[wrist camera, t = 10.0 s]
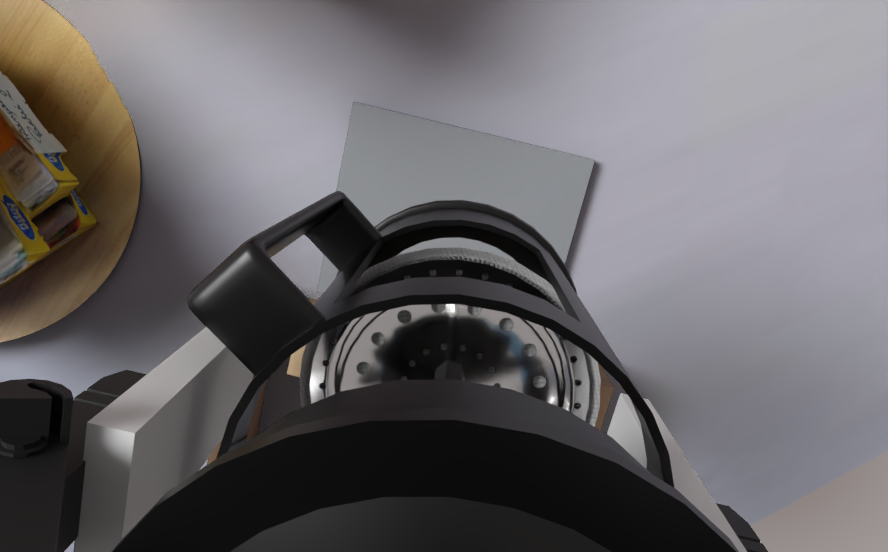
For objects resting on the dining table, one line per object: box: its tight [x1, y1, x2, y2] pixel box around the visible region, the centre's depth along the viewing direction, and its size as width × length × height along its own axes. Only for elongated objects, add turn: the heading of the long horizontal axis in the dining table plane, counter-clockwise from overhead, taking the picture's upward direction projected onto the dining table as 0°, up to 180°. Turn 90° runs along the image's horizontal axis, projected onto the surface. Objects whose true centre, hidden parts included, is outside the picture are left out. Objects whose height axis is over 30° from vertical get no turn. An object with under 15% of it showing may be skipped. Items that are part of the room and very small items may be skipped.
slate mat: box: [317, 102, 595, 293], centre depth 43 cm, size 16×13×1 cm
